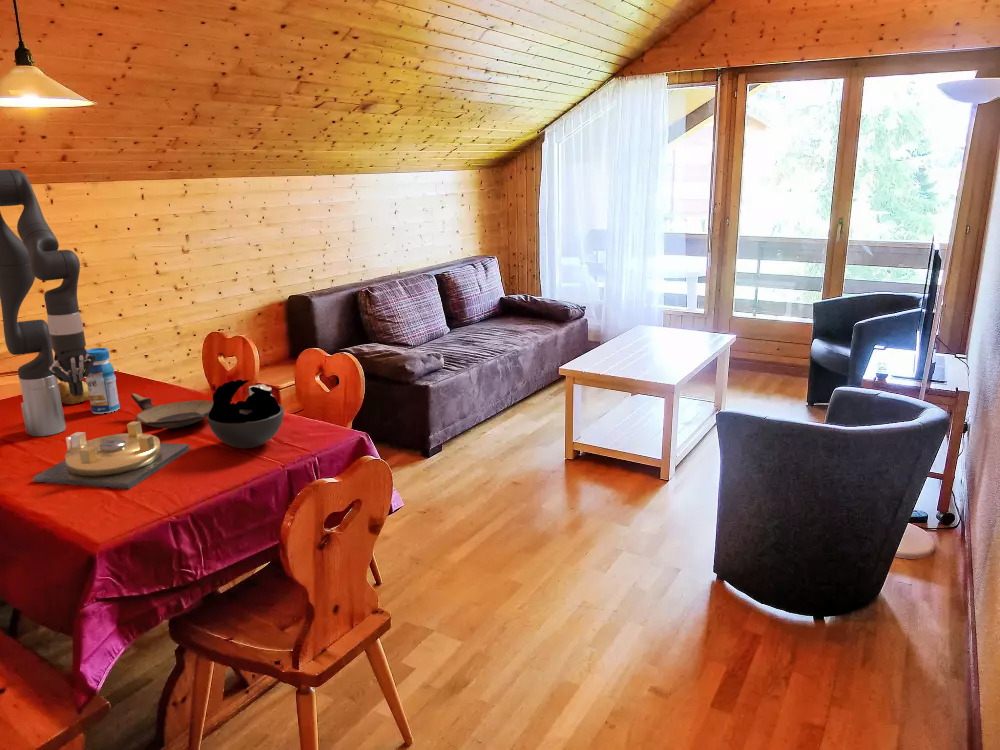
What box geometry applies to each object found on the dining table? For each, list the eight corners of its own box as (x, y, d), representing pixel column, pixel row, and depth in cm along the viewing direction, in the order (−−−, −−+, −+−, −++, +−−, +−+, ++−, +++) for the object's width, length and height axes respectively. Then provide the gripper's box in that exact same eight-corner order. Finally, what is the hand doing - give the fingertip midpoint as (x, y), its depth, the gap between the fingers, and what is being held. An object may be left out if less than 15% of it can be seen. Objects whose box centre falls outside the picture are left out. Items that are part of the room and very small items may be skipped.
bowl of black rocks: (211, 438, 210) (204, 375, 205) (283, 429, 217) (278, 368, 211) (210, 464, 192) (202, 395, 187) (289, 453, 198) (283, 387, 193)
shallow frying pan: (157, 444, 206) (153, 419, 204) (120, 420, 226) (116, 396, 224) (233, 425, 221) (230, 401, 219) (192, 403, 241) (189, 381, 239)
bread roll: (61, 397, 249) (57, 374, 247) (93, 393, 253) (90, 371, 251) (57, 407, 238) (53, 384, 236) (91, 403, 242) (87, 380, 240)
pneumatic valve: (260, 429, 217) (256, 390, 214) (250, 418, 226) (246, 381, 223) (279, 426, 220) (275, 387, 216) (268, 415, 229) (264, 378, 226)
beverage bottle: (123, 411, 234) (114, 350, 229) (94, 416, 229) (84, 354, 224) (116, 404, 241) (107, 345, 235) (88, 410, 235) (78, 349, 230)
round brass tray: (177, 445, 200) (174, 422, 198) (128, 477, 179) (124, 453, 178) (103, 441, 203) (99, 419, 201) (46, 473, 182) (41, 449, 180)
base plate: (34, 482, 181) (28, 454, 179) (105, 444, 206) (101, 419, 204) (129, 489, 177) (124, 460, 175) (190, 449, 202) (186, 423, 200)
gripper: (54, 337, 178) (66, 404, 183) (99, 326, 190) (109, 389, 195) (31, 334, 180) (43, 401, 185) (77, 323, 192) (87, 386, 197)
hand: (77, 395), depth 190 cm, fingers closed
